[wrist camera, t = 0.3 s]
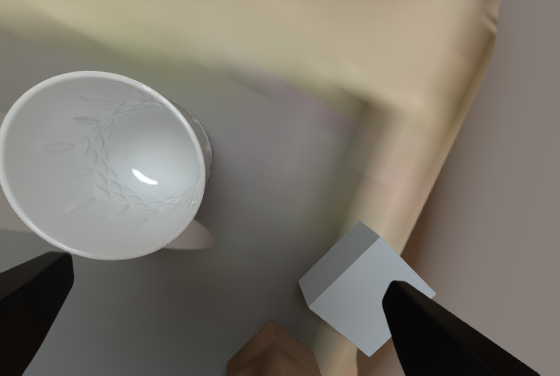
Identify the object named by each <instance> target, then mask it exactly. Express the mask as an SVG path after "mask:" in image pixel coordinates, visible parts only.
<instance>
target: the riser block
mask: <svg viewBox="0 0 560 376" xmlns="http://www.w3.org/2000/svg"><path fill="white" fill-rule="evenodd" d="M393 280H400V281H406V282H408V283H409V284H410V285H412V286H413V287H415V288H416V289H418V290H419V291H421V292H422V293H423V294H425V295H426V296H428V297H429V298H432V297H433V296H434V295H435V294H436V293H435V292H433V290H432V289H431V288H430V287H429V286H428V285H427V284H426V283H425V282H424V281H423V280H422V279H421V278H420V277H419V276H418V275H417V274H416V273H415V272H414V271H413V270H412V269H411V268H410V267H409V266H408V265H407V264H406V263H405V262H404V260H403V259H402V258H401V257H400V256H399V255H398V254H397V253H396V252H395V251H394V250H393V249H392V248H391V247H390V246H389V245H388V244H387V243H386V242H385V241H384V240H383V239H382V238H381V237H380V236H379V235H378V234H376V233H375V232H374V231H372V230H371V229H370V228H369V227H367V226H366V225H365V224H363V223H362V222H361V221H360V220H359V221H358V222H357V223H356V224H355V225H354V226H353V227H352V228H351V229H350V230H349V231H348V232H347V233H346V234H345V235H344V236H343V237H342V238H341V239H340V240H339V241H338V242H337V243H336V244H335V245H334V246H333V247H332V248H331V249H330V250H329V251H328V252H327V253H326V254H325V255H324V256H323V257H322V258H321V259H320V260H319V261H318V262H317V263H316V264H315V265H314V266H313V267H312V268H311V269H310V270H309V271H308V272H307V273H306V274H305V275H304V276H303V277H302V278H301V279H300V280H299V281H298V282H299V285H300V287H301V290H302V292H303V295H304V298H305V300H306V303H307V305H308V307H309V308H310V309H311V310H312V311H313V312H315V313H316V314H317V315H318V316H320V317H321V318H322V319H323V320H325V321H326V322H327V323H328V324H329V325H331V326H332V327H333V328H334V329H336V330H337V331H338V332H339V333H341V334H342V335H343V336H344V337H345V338H347V339H348V340H349V341H350V342H352V343H353V344H354V345H355V346H357V347H358V348H359V349H360V350H361V351H363V352H364V353H365V354H367V355H368V356H369V357H370V356H371V355H372V354H373V353H374V352H375V351H376V350H377V349H378V348H380V347H381V345H383V344H384V343H385V342H386V341H387V340H388V339H389V338H390V337H391V334H390V330H389V327H388V324H387V321H386V318H385V314H384V311H383V308H382V299H383V296H384V294H385V292H386V290H387V288H388V286H389V284H390V282H391V281H393Z"/></svg>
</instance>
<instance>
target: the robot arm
mask: <svg viewBox="0 0 560 376" xmlns="http://www.w3.org/2000/svg"><path fill="white" fill-rule="evenodd" d="M73 283H74V271H73V261H72V256H71V254H70V253H68V252H59V251H50V252H47V253H45V254H42V255H40V256H38V257H36V258H33V259H31V260H29V261H27V262H24V263H22V264H20V265H18V266H15V267H13V268H11V269H9V270H7V271H4V272H2V273H0V376H22V374H23V373H24V371H25V370H26V368H27V367H28V365H29V364H30V362H31V361H32V359H33V357H34V356H35V354H36V353H37V351H38V350H39V348H40V346H41V344H42V343H43V341H44V339H45V337H46V335H47V333H48V331H49V330H50V328H51V326H52V324H53V322H54V320H55V318H56V316H57V315H58V313H59V311H60V309H61V307H62V305H63V303H64V301H65V299H66V298H67V296H68V294H69V292H70V290H71V288H72V286H73ZM382 308H383V311H384V314H385V318H386V321H387V324H388V327H389V330H390V334H391V337H392V340H393V343H394V347H395V349H396V352H397V355H398V358H399V361H400V363H401V366H402V368H403V371H404V373H405V376H540V375H539V374H538V373H537V372H535V371H534V370H533V369H531V368H530V367H528V366H527V365H526V364H524V363H523V362H521V361H520V360H518V359H517V358H515V357H514V356H512V355H511V354H510V353H508V352H507V351H505V350H504V349H502V348H501V347H500V346H498V345H497V344H495V343H494V342H492V341H491V340H490V339H488V338H487V337H485V336H484V335H482V334H481V333H479V332H478V331H477V330H475V329H474V328H472V327H471V326H469V325H468V324H467V323H465V322H463V321H462V320H461V319H459V318H458V317H456V316H455V315H454V314H452V313H451V312H449V311H448V310H446V309H445V308H444V307H442V306H441V305H439V304H438V303H436V302H435V301H433V300H432V299H431V298H429V297H428V296H426V295H425V294H423V293H422V292H421V291H419V290H418V289H416V288H415V287H413V286H412V285H410V284H409V283H408V282H406V281H400V280H393V281H391V282H390V284H389V286H388V288H387V290H386V292H385V294H384V296H383V299H382Z"/></svg>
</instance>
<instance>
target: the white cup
mask: <svg viewBox="0 0 560 376" xmlns="http://www.w3.org/2000/svg"><path fill="white" fill-rule="evenodd" d="M211 162H212V149H211V145H210V141H209V137H208V133H207V132H206V131H205V129H204V128H203V127H202V126H201V124H200V123H199V122H198V121H197V119H196V118H195V117H194V116H192V115H191V114H190V113H189V112H188V111H186V110H185V109H184V108H182V107H181V106H180V105H178V104H177V103H175V102H174V101H172V100H170V99H168V98H167V97H165V96H163V95H162V94H160V93H158V92H157V91H155V90H153V89H152V88H150V87H148V86H146V85H144V84H142V83H140V82H138V81H136V80H133V79H131V78H128V77H125V76H121V75H118V74H113V73H108V72H100V71H79V72H71V73H66V74H62V75H58V76H55V77H52V78H49V79H47V80H45V81H43V82H41V83H39V84H37V85H35V86H34V87H32V88H31V89H29V90H28V91H27V92H26V93H24V94H23V95H22V96H21V97H20V98H19V99H18V100H17V101H16V102H15V103H14V105H13V106H12V107H11V109H10V110H9V112H8V113H7V115H6V117H5V119H4V121H3V123H2V125H1V128H0V184H1V186H2V189H3V191H4V194H5V196H6V198H7V200H8V201H9V203H10V205H11V206H12V208H13V209H14V211H15V212H16V213H17V214H18V216H19V217H20V218H21V219H22V221H23V222H24V223H25V224H26V225H27V226H28V227H29V228H30V229H31V230H33V231H34V232H35V233H36V234H37V235H39V236H40V237H42V238H43V239H44V240H46V241H47V242H49V243H51V244H53V245H54V246H56V247H58V248H60V249H62V250H65V251H67V252H70V253H72V254H75V255H79V256H82V257H87V258H92V259H98V260H126V259H132V258H137V257H141V256H144V255H147V254H150V253H153V252H155V251H157V250H159V249H161V248H163V247H165V246H166V245H168V244H169V243H171V242H172V241H173V240H175V239H176V238H177V237H178V236H179V235H180V234H181V233H182V232H183V231H184V230H185V229H186V228H187V227H188V226H189V224H190V223H191V221H192V220H193V218H194V217H195V215H196V213H197V211H198V209H199V207H200V204H201V201H202V198H203V194H204V191H205V188H206V184H207V181H208V178H209V174H210V169H211Z"/></svg>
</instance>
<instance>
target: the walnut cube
mask: <svg viewBox="0 0 560 376" xmlns="http://www.w3.org/2000/svg"><path fill="white" fill-rule="evenodd" d="M227 376H321V373H320V370H319V367H318V364H317V361H316V358H315V355H314V352H313V351H312V350H310V349H309V348H308V347H307V346H305V345H304V344H303V343H301V342H300V341H299V340H298V339H296V338H295V337H294V336H292V335H291V334H290V333H288V332H287V331H286V330H285V329H283V328H282V327H281V326H279V325H278V324H277V323H276V322H274V321H273V320H271V321H269V322H268V323H267V324H266V325H265V326H264V327H263V328H262V329H261V330H260V331H259V332H258V333H257V334H256V335H255V336H254V337H253V338H252V339H251V340H250V341H249V342H248V343H247V344H246V345H245V346H244V347H243V348H242V349H241V350H240V351H239V352H238V353H236V354H235V355H234V356H233V357H232V358H231V359H230V360H229V361H228V365H227Z"/></svg>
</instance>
